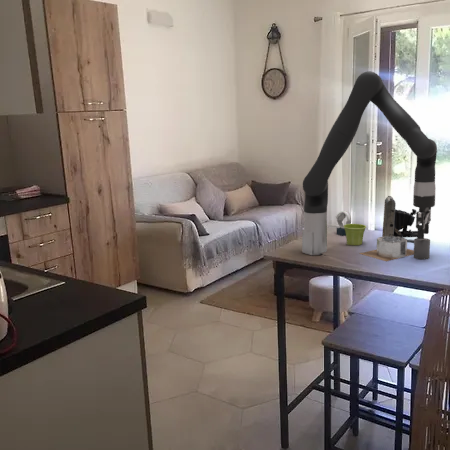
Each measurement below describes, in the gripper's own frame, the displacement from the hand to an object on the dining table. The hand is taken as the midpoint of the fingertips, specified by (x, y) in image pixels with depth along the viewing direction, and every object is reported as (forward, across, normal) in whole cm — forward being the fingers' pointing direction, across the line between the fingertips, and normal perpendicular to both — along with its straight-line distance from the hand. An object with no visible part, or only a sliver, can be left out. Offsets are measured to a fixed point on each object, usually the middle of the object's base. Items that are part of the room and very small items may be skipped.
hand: (423, 236), depth 188 cm
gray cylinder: (+9, 0, 0) cm, 9 cm away
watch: (+9, -28, -41) cm, 51 cm away
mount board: (+9, -2, -12) cm, 16 cm away
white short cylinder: (+8, 0, -12) cm, 14 cm away
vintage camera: (+10, -25, -14) cm, 30 cm away
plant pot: (+9, -10, -30) cm, 33 cm away
